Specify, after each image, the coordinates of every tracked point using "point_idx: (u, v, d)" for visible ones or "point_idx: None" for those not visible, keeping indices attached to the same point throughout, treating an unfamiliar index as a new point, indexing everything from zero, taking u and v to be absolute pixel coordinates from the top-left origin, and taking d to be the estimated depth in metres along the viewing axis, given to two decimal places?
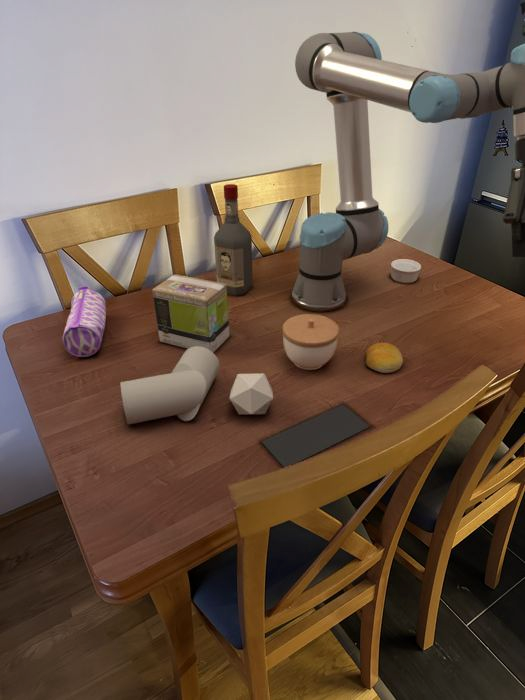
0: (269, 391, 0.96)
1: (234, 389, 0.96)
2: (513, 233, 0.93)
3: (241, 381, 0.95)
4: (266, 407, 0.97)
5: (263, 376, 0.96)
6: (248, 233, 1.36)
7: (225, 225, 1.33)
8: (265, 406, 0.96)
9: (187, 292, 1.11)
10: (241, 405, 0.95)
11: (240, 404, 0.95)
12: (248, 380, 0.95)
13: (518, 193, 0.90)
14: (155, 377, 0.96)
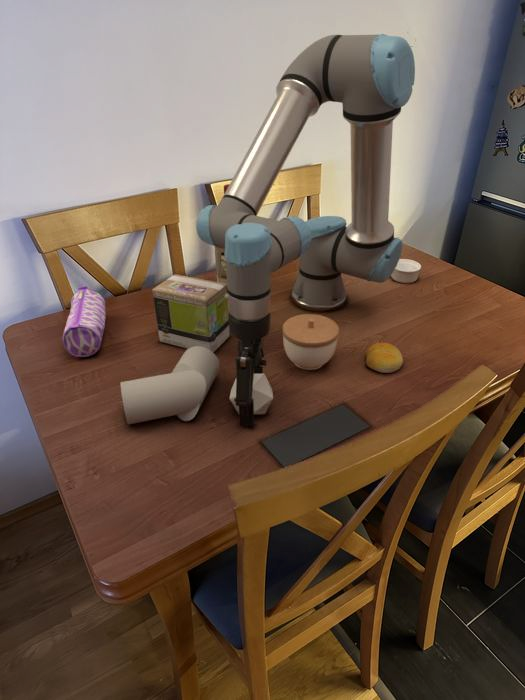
0: (269, 391, 0.96)
1: (234, 389, 0.96)
2: None
3: None
4: (266, 407, 0.97)
5: (263, 376, 0.96)
6: None
7: None
8: (265, 406, 0.96)
9: (187, 292, 1.11)
10: None
11: None
12: None
13: None
14: (155, 377, 0.96)
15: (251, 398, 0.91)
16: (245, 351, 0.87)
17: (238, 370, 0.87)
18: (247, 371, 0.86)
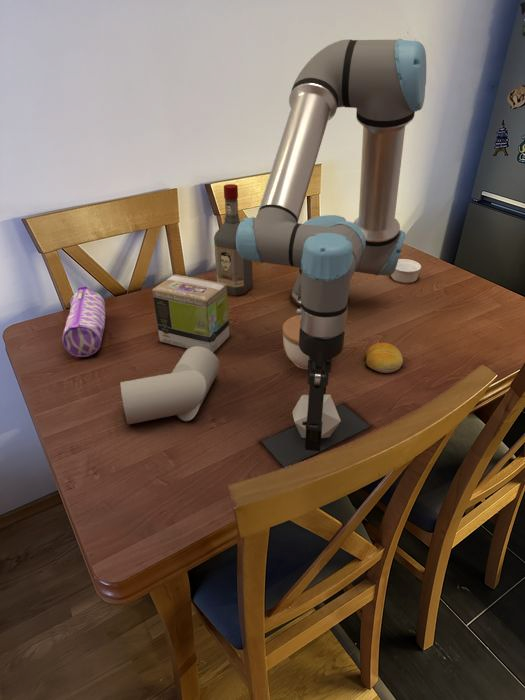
0: (336, 413, 0.90)
1: (299, 411, 0.90)
2: None
3: (306, 403, 0.90)
4: (332, 430, 0.91)
5: (329, 397, 0.91)
6: None
7: (225, 225, 1.33)
8: (332, 429, 0.90)
9: (187, 292, 1.11)
10: None
11: None
12: None
13: None
14: (155, 377, 0.96)
15: (321, 421, 0.83)
16: (318, 369, 0.81)
17: (311, 389, 0.80)
18: (321, 390, 0.79)
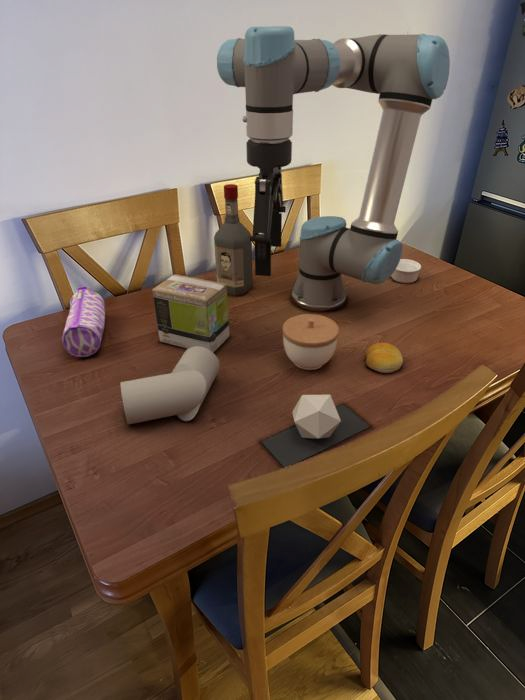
0: (336, 413, 0.90)
1: (299, 411, 0.90)
2: None
3: (306, 403, 0.90)
4: (332, 430, 0.91)
5: (329, 397, 0.91)
6: (248, 233, 1.36)
7: (225, 225, 1.33)
8: (332, 429, 0.90)
9: (187, 292, 1.11)
10: (307, 429, 0.89)
11: (306, 428, 0.89)
12: (315, 402, 0.89)
13: None
14: (155, 377, 0.96)
15: (269, 236, 0.82)
16: (265, 178, 0.79)
17: (257, 196, 0.79)
18: (266, 197, 0.78)
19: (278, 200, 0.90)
